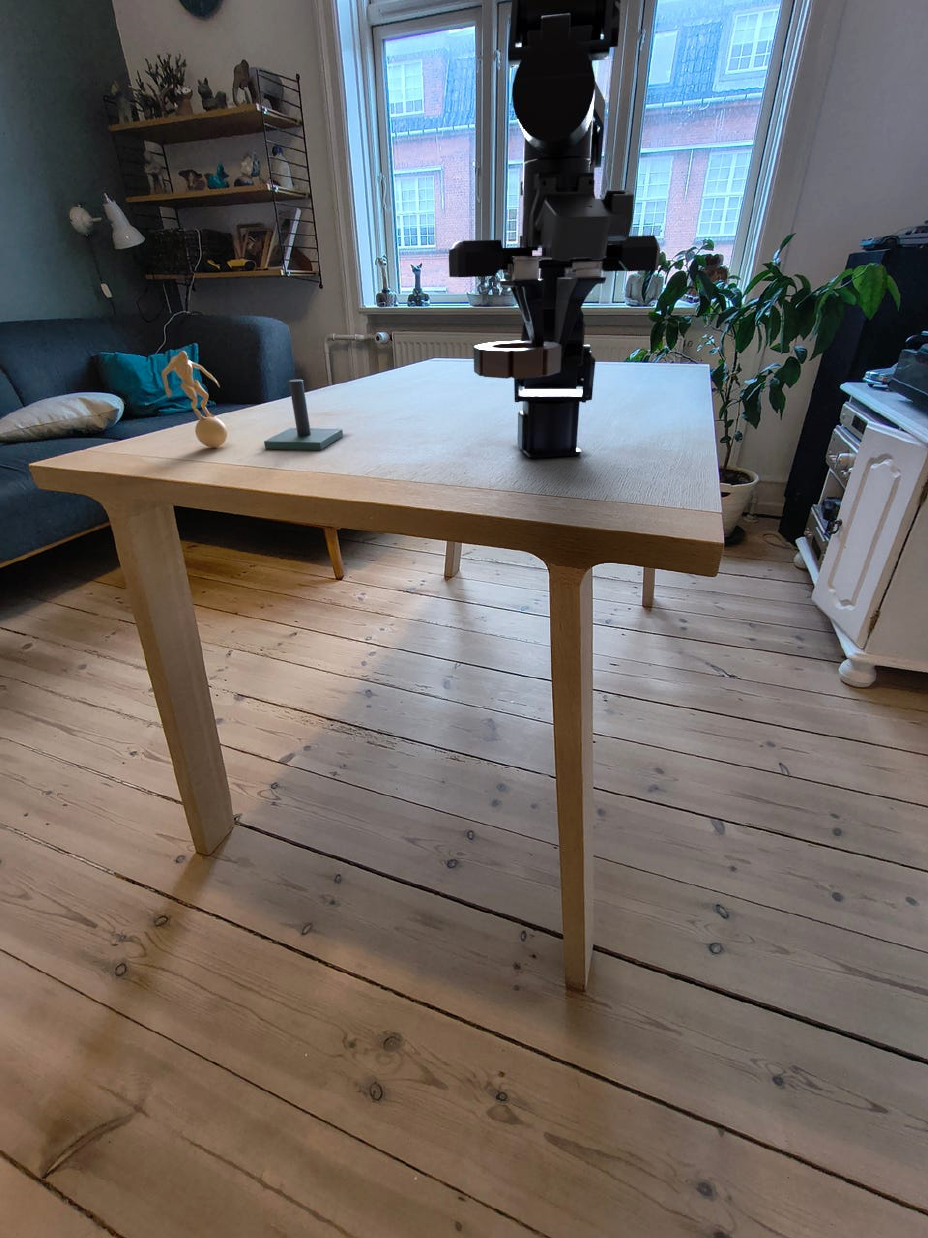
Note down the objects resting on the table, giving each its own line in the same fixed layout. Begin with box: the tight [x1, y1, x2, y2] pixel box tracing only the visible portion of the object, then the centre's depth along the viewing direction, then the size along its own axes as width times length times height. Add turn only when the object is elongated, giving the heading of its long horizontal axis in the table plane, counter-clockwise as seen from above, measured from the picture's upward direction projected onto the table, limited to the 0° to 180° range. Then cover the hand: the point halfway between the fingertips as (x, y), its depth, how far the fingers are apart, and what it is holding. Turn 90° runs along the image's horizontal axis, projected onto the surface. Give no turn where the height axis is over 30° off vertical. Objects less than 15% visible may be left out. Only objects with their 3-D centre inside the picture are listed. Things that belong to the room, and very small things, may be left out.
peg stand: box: [263, 379, 344, 451], centre depth 80 cm, size 8×8×8 cm
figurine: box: [161, 350, 228, 448], centre depth 78 cm, size 8×6×12 cm
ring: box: [473, 340, 562, 380], centre depth 58 cm, size 8×8×2 cm
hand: (548, 358), depth 59 cm, fingers closed on ring, 2 cm apart
